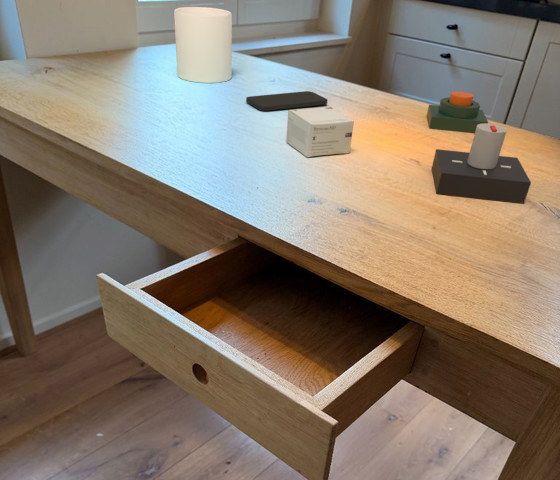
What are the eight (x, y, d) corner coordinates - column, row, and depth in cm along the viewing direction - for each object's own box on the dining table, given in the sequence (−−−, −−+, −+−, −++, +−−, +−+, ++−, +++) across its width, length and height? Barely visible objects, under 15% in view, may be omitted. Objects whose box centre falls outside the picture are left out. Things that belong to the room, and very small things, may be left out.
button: (469, 103, 104) (472, 92, 103) (472, 108, 101) (474, 98, 100) (447, 100, 104) (450, 90, 103) (449, 106, 101) (452, 96, 100)
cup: (208, 67, 129) (206, 5, 121) (242, 78, 123) (243, 14, 115) (166, 74, 122) (162, 8, 114) (201, 85, 116) (199, 17, 108)
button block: (479, 122, 108) (485, 99, 105) (484, 134, 101) (491, 111, 99) (426, 116, 108) (431, 94, 106) (429, 129, 102) (434, 105, 100)
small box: (307, 158, 86) (310, 123, 83) (285, 142, 92) (287, 108, 88) (350, 154, 89) (355, 119, 86) (326, 138, 94) (330, 105, 91)
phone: (243, 96, 108) (310, 90, 114) (243, 101, 109) (309, 95, 115) (261, 107, 103) (330, 100, 109) (261, 112, 104) (329, 104, 110)
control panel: (511, 177, 85) (517, 156, 83) (523, 203, 78) (531, 181, 76) (431, 169, 86) (436, 147, 84) (436, 194, 79) (441, 171, 76)
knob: (465, 158, 82) (475, 119, 78) (493, 161, 81) (504, 122, 78) (469, 168, 79) (480, 128, 75) (498, 170, 78) (510, 131, 75)
